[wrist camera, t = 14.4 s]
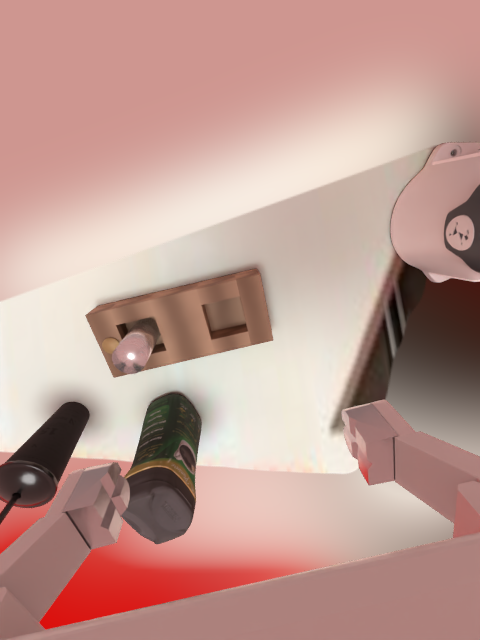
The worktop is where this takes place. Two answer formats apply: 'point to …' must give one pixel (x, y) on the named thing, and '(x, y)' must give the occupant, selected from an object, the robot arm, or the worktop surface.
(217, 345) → the board
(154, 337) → the pin
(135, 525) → the coffee jar
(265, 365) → the worktop surface
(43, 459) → the drinking cup
